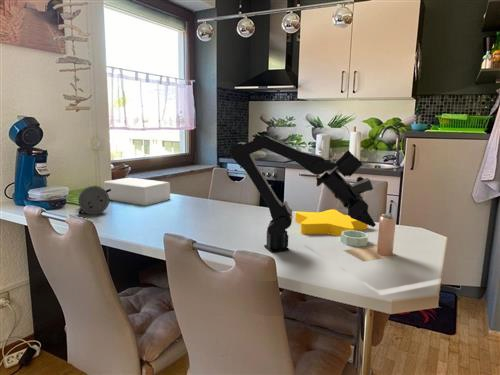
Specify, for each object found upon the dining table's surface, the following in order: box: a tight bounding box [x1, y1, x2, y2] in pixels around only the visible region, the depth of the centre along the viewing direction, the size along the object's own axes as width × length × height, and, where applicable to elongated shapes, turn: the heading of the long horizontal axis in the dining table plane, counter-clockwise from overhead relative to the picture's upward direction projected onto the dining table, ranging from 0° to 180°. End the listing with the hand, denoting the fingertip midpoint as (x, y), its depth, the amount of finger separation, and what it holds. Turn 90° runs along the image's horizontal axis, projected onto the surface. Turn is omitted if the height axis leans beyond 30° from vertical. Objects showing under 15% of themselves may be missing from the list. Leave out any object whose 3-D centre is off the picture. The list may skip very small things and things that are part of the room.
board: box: [343, 245, 399, 262], centre depth 116 cm, size 14×10×1 cm
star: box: [294, 209, 369, 237], centre depth 147 cm, size 30×4×29 cm
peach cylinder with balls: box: [376, 212, 397, 256], centre depth 115 cm, size 5×5×13 cm
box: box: [103, 177, 171, 206], centre depth 195 cm, size 19×30×10 cm, turn 61°
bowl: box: [339, 230, 369, 248], centre depth 127 cm, size 9×9×4 cm
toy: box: [77, 185, 111, 215], centre depth 165 cm, size 17×13×30 cm
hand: (372, 221), depth 115 cm, fingers open, 9 cm apart
